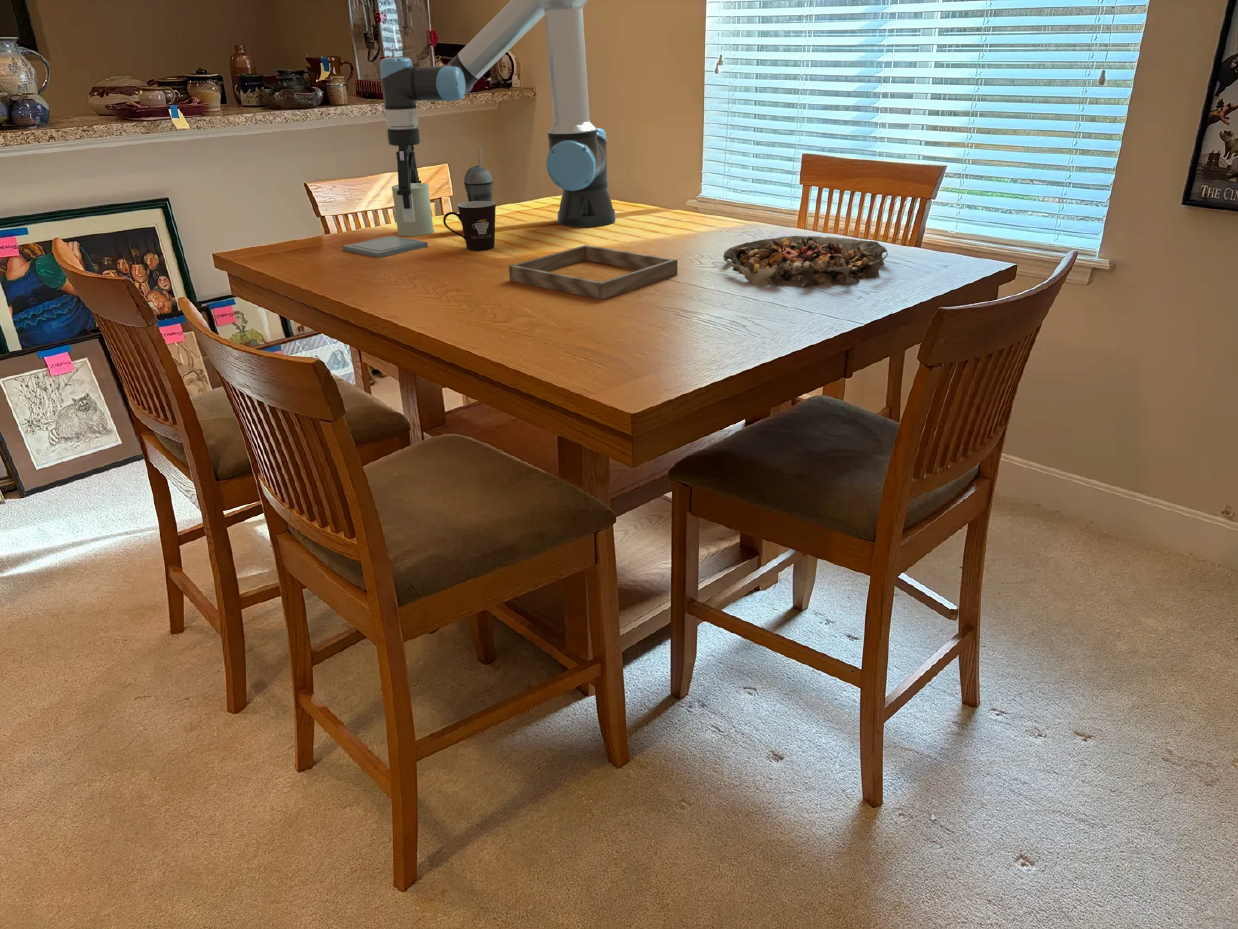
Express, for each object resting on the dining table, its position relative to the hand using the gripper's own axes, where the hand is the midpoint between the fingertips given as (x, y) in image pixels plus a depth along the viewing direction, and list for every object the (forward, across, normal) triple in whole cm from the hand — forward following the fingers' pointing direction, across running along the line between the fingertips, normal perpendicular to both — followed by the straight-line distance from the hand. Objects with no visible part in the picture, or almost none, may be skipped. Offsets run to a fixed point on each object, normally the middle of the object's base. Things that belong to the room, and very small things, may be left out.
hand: (412, 216), depth 227 cm
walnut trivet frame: (+3, +55, +43) cm, 70 cm away
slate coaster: (+4, +18, -5) cm, 19 cm away
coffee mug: (+4, +22, +17) cm, 28 cm away
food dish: (+3, +55, +87) cm, 103 cm away
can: (+4, 0, 0) cm, 4 cm away
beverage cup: (+4, 0, +17) cm, 18 cm away
